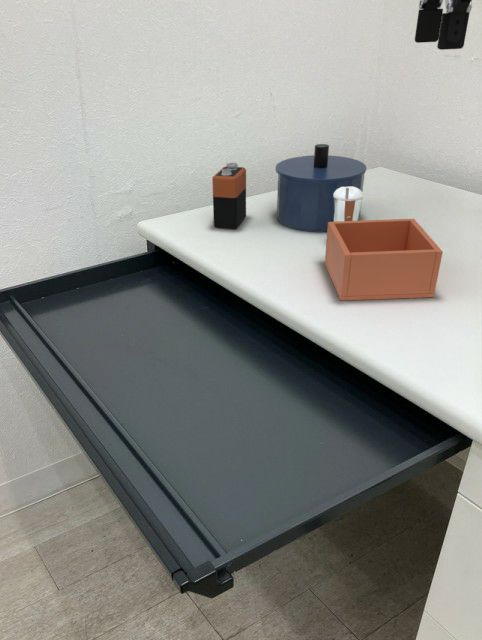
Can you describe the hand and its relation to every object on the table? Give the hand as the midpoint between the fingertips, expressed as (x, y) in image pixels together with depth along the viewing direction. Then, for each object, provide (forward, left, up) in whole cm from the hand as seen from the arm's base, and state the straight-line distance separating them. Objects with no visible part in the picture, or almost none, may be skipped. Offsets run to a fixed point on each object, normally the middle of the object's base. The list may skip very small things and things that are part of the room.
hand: (437, 45), depth 81 cm
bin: (+8, +13, -28) cm, 32 cm away
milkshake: (+10, -1, -28) cm, 30 cm away
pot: (+12, -14, -28) cm, 34 cm away
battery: (+28, -13, -28) cm, 42 cm away
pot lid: (+12, -15, -20) cm, 27 cm away
